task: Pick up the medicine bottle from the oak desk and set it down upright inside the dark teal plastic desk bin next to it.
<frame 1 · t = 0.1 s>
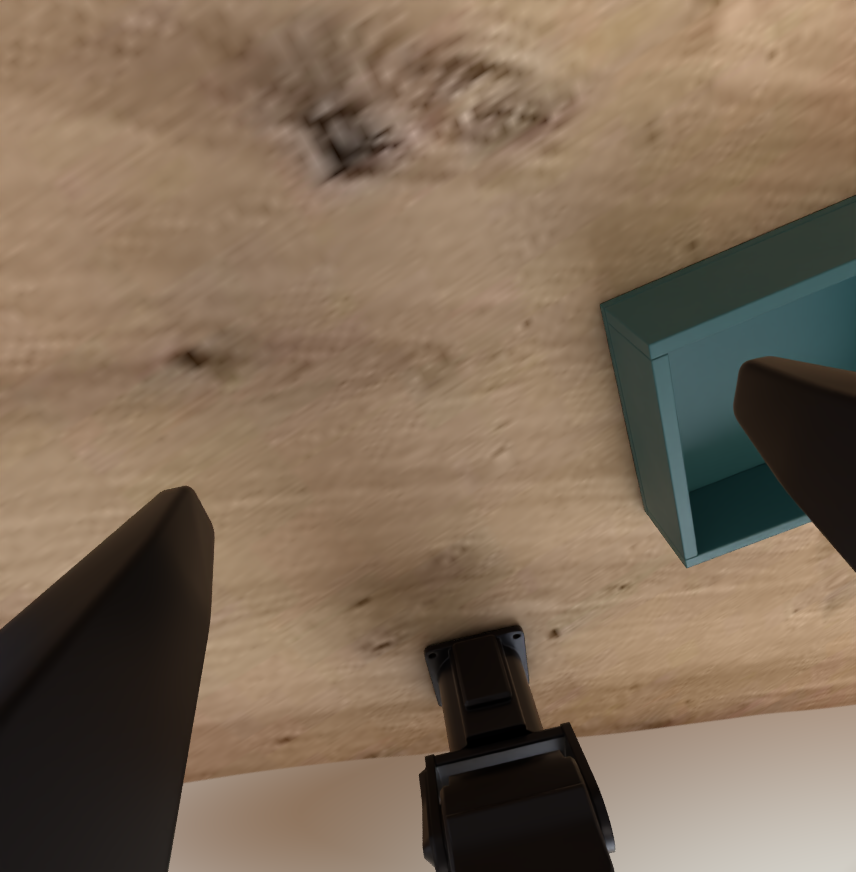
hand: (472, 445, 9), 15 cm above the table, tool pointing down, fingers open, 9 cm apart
desk bin: (749, 371, 27), on the table
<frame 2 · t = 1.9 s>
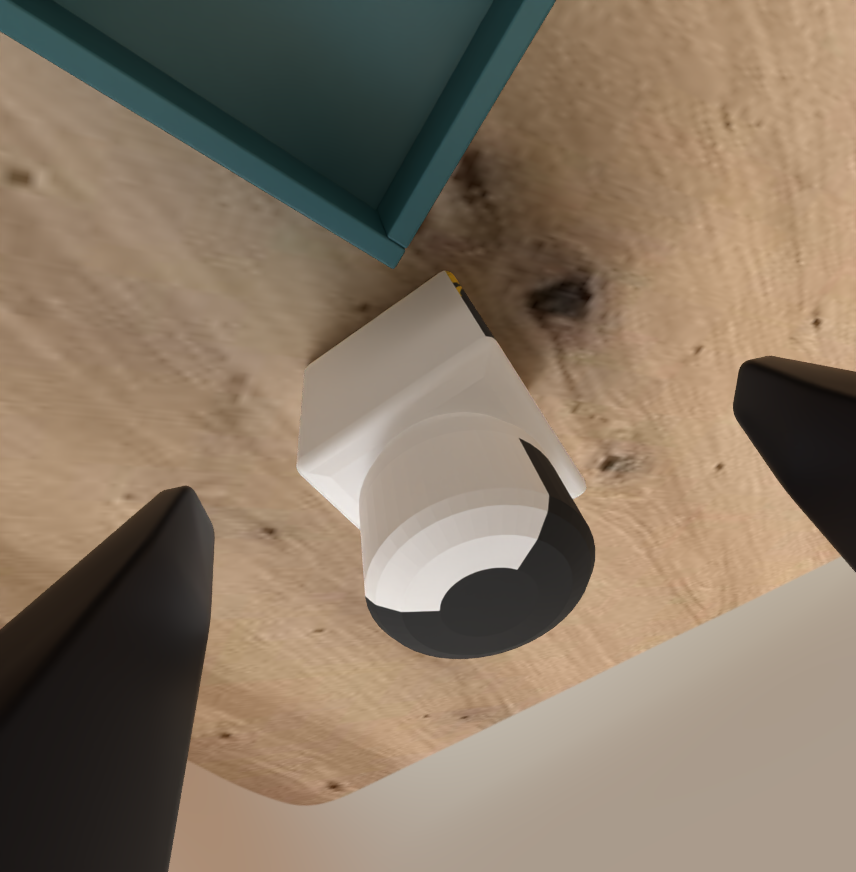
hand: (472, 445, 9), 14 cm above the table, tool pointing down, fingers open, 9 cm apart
medicine bottle: (420, 379, 23), on the table
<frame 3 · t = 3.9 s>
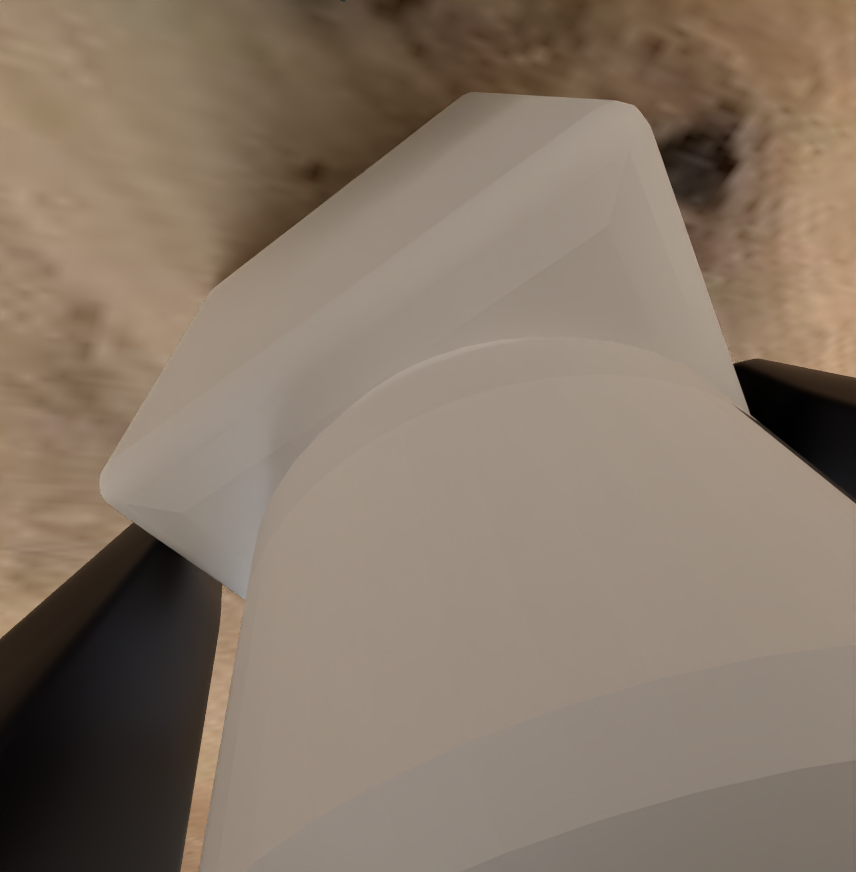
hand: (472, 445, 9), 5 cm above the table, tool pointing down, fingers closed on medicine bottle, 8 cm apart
medicine bottle: (422, 323, 13), on the table, touching gripper
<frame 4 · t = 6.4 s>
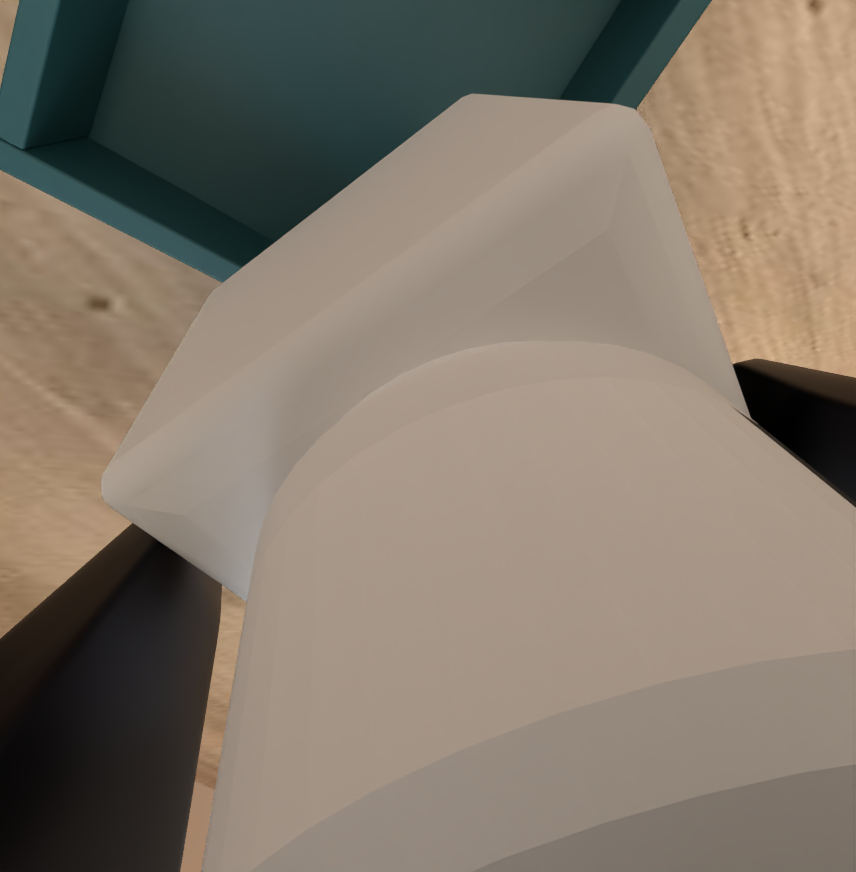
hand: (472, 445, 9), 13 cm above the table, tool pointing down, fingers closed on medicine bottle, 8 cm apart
medicine bottle: (422, 324, 13), point 7 cm above the table, touching gripper
desk bin: (359, 58, 16), on the table
when the fingers open (6 cm above the table, at t = 9.4 s): medicine bottle stays where it is, resting on desk bin.
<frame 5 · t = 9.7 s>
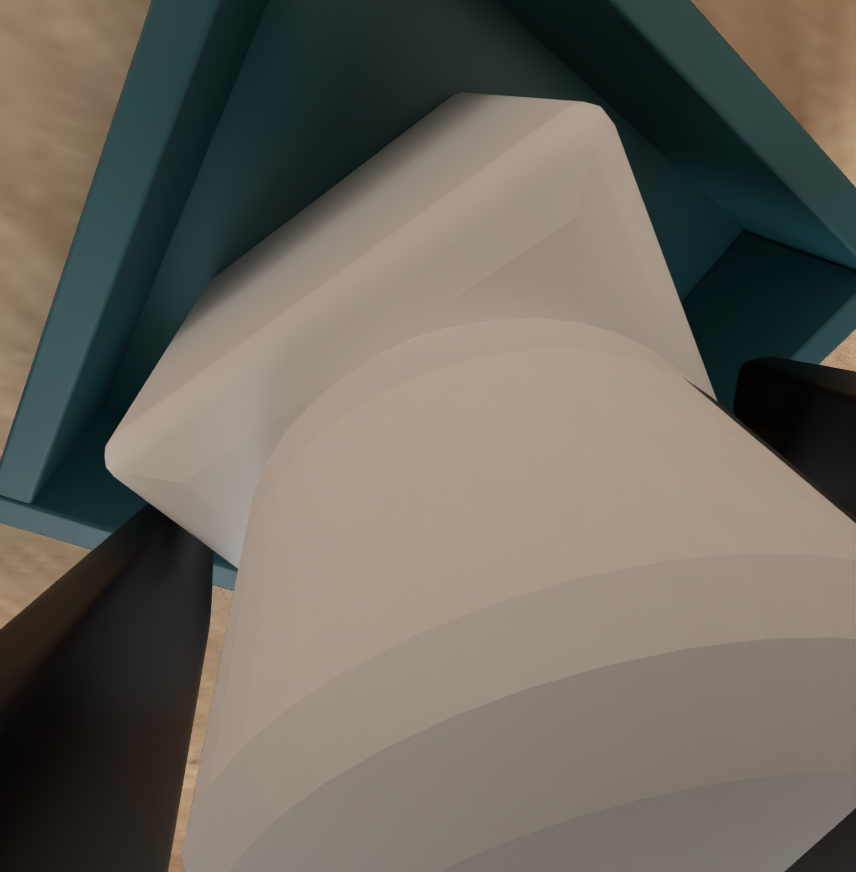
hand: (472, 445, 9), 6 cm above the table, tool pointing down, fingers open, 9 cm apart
medicine bottle: (414, 315, 14), resting on desk bin, touching gripper
desk bin: (420, 309, 14), on the table
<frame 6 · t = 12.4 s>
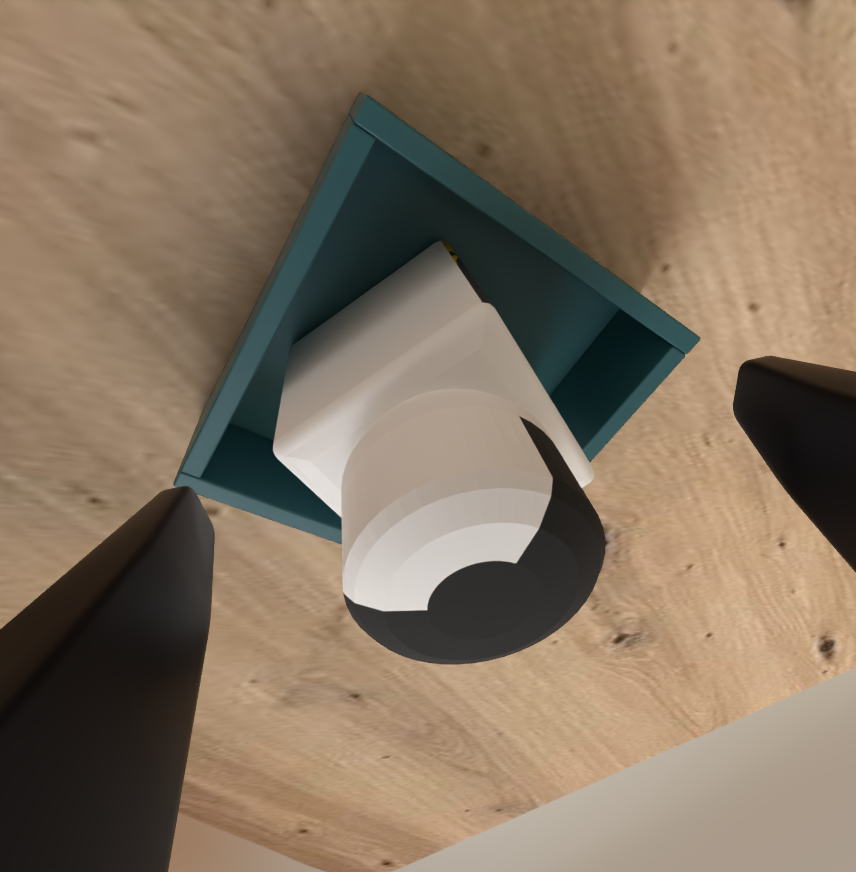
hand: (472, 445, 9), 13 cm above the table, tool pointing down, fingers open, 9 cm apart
medicine bottle: (415, 361, 22), resting on desk bin
desk bin: (418, 357, 22), on the table
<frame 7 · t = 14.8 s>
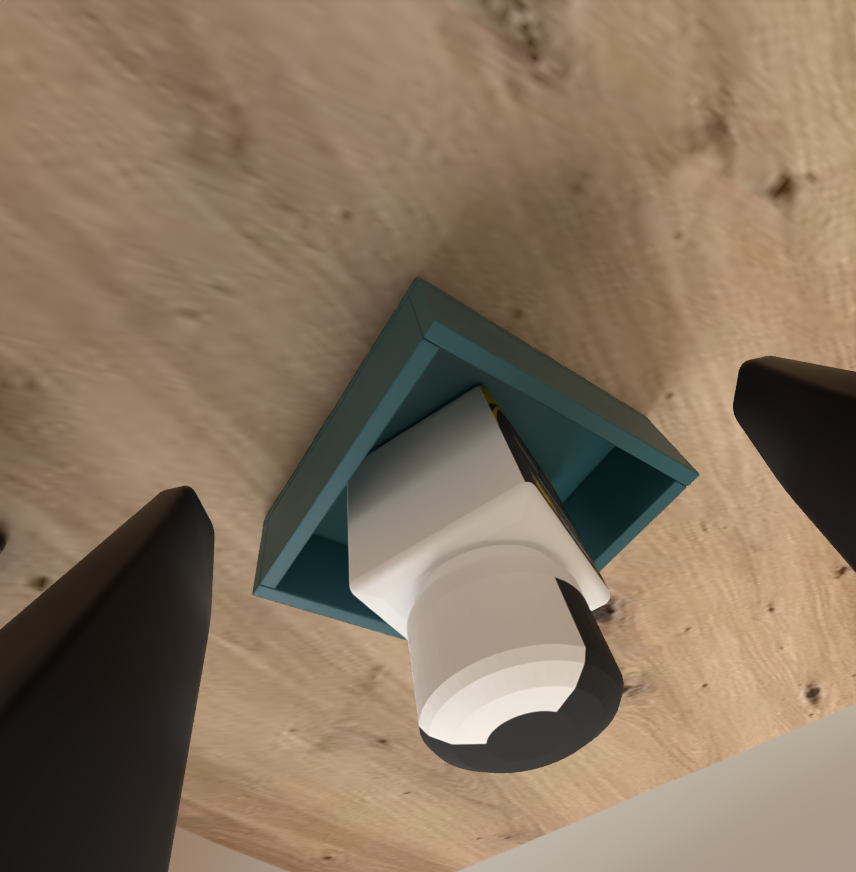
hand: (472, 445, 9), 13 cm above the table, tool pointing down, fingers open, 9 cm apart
medicine bottle: (452, 473, 25), resting on desk bin
desk bin: (455, 468, 25), on the table
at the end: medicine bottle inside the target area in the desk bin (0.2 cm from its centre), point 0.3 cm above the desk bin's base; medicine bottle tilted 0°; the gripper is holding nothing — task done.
